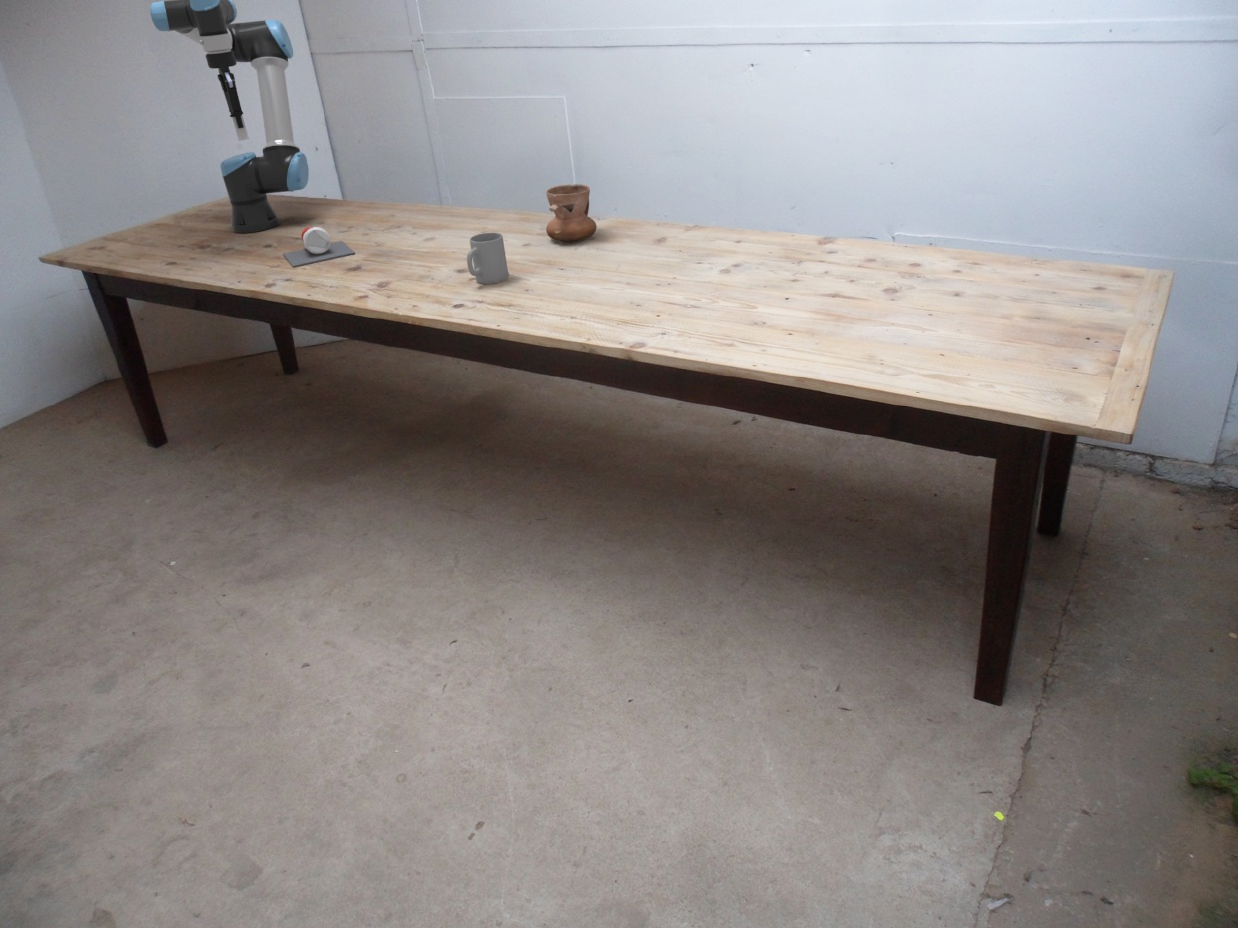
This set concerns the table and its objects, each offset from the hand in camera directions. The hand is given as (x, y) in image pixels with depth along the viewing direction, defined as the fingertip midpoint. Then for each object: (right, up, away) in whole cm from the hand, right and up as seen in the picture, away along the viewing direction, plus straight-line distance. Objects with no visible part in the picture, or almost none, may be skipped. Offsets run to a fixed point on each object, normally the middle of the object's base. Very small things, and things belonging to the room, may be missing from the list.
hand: (243, 139), depth 266 cm
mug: (+76, -48, -30) cm, 95 cm away
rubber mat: (+20, -33, +5) cm, 39 cm away
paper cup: (+16, -25, +12) cm, 32 cm away
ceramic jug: (+97, -30, -3) cm, 101 cm away
